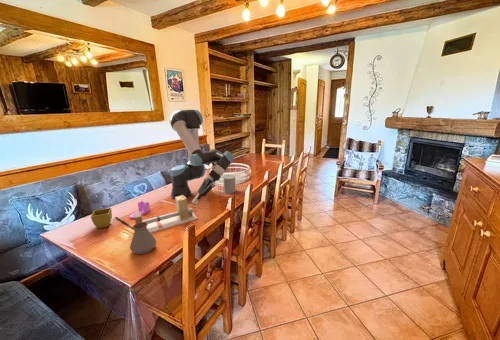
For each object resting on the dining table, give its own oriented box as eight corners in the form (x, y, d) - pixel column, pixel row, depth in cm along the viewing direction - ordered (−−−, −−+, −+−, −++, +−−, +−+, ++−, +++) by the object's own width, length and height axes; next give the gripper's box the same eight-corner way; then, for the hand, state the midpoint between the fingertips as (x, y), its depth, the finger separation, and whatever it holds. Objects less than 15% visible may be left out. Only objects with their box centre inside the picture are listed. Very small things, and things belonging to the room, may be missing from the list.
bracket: (143, 209, 148) (141, 200, 146) (150, 210, 146) (148, 201, 144) (127, 218, 136) (125, 208, 134) (135, 219, 134) (133, 209, 132)
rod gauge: (135, 227, 124) (132, 212, 122) (191, 212, 141) (190, 198, 139) (137, 236, 115) (134, 219, 113) (197, 219, 132) (195, 204, 130)
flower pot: (97, 223, 130) (94, 210, 127) (114, 220, 133) (111, 207, 131) (93, 231, 122) (90, 216, 120) (111, 227, 125) (108, 213, 123)
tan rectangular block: (177, 215, 134) (175, 196, 131) (185, 212, 137) (183, 195, 134) (180, 219, 129) (178, 200, 125) (188, 217, 131) (186, 198, 128)
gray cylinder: (233, 193, 171) (233, 179, 167) (222, 193, 173) (221, 178, 169) (237, 189, 180) (236, 175, 176) (226, 189, 182) (225, 175, 178)
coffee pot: (162, 244, 108) (158, 217, 104) (144, 259, 98) (139, 229, 94) (129, 237, 115) (124, 211, 111) (109, 250, 105) (103, 222, 101)
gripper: (225, 178, 136) (202, 209, 132) (216, 173, 146) (194, 202, 142) (216, 171, 132) (192, 203, 127) (208, 167, 142) (186, 196, 138)
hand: (193, 203), depth 135 cm, fingers closed
